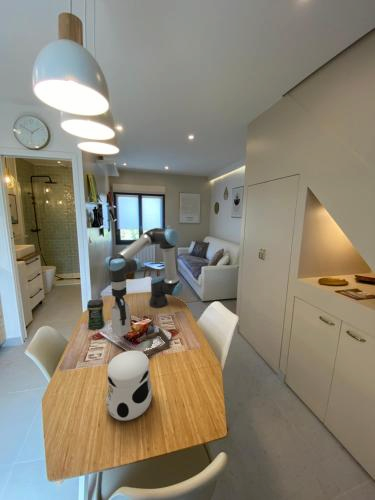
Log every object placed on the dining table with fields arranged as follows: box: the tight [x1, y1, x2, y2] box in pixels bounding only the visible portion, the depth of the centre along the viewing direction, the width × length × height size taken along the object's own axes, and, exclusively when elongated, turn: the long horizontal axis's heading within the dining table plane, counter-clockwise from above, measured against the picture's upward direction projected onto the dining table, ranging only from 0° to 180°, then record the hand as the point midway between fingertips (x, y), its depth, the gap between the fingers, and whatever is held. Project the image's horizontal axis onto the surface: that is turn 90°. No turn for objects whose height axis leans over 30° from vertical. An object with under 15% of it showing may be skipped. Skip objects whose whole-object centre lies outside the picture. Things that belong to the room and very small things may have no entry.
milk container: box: [105, 350, 153, 422], centre depth 79 cm, size 17×17×18 cm
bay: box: [137, 327, 171, 356], centre depth 116 cm, size 15×14×5 cm
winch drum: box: [147, 321, 156, 335], centre depth 128 cm, size 4×5×8 cm
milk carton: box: [110, 297, 132, 338], centre depth 113 cm, size 7×7×19 cm
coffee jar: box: [86, 299, 105, 330], centre depth 133 cm, size 10×8×19 cm
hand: (121, 325), depth 114 cm, fingers closed on milk carton, 10 cm apart
